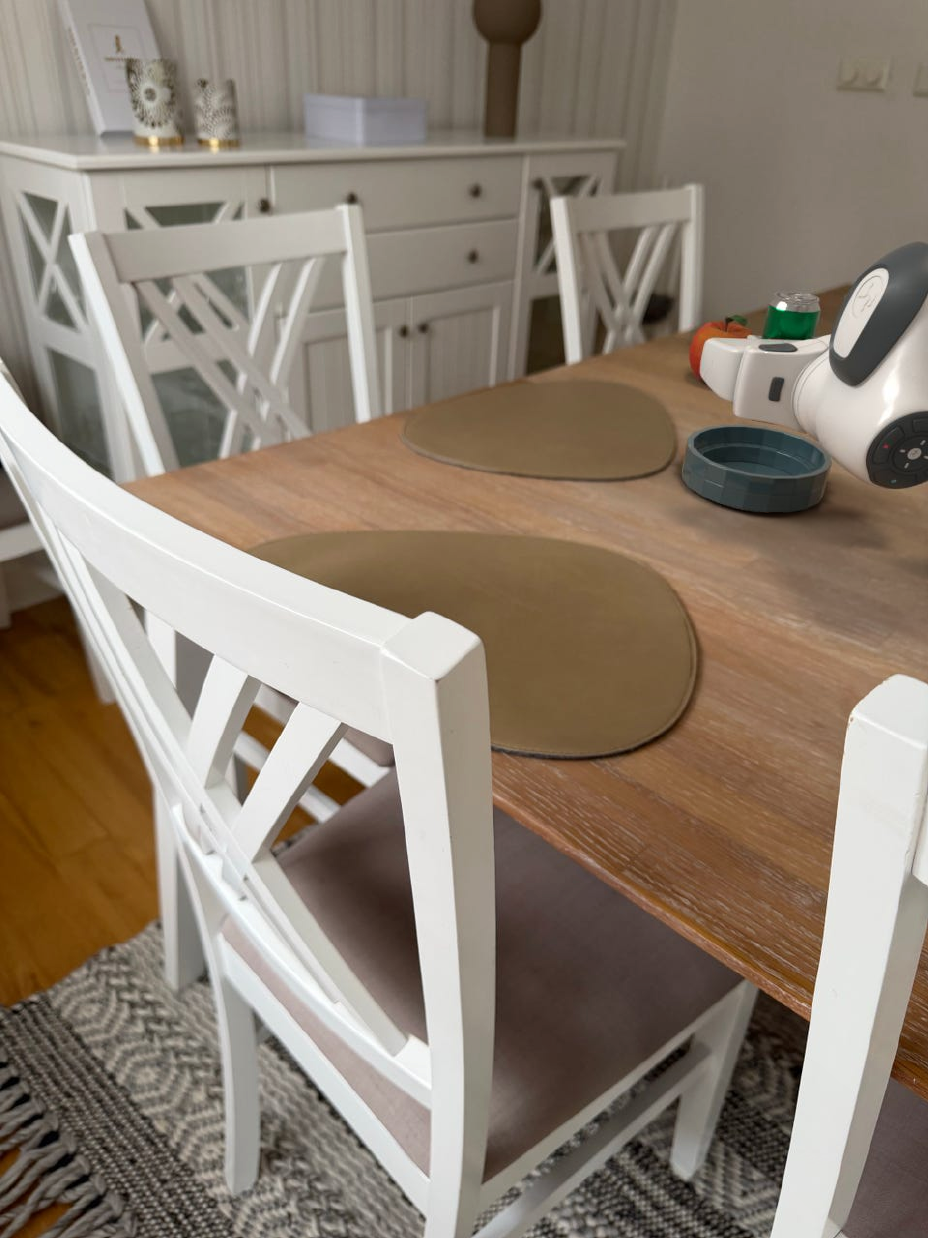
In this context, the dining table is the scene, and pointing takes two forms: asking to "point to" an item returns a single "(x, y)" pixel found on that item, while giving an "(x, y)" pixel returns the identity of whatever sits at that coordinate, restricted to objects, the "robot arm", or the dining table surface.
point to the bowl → (755, 468)
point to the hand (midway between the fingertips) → (782, 343)
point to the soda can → (792, 316)
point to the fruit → (715, 331)
